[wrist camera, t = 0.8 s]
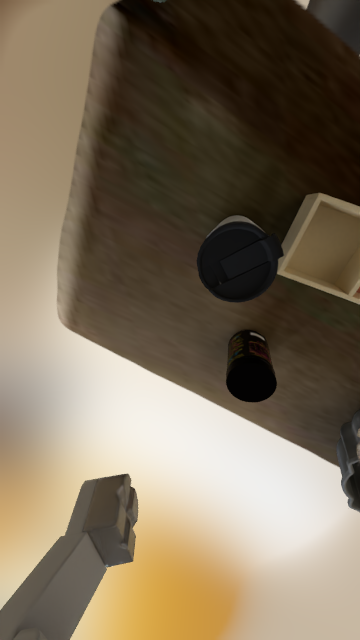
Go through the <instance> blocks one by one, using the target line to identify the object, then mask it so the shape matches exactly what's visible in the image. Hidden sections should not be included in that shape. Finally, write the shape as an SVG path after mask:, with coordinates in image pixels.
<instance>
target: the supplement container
mask: <svg viewBox="0 0 360 640" xmlns="http://www.w3.org/2000/svg"><path fill="white" fill-rule="evenodd" d="M226 385H227V388H228V390H229V392H230V393H231V394H232V395H233V396H234V397H236V398H238V399H240V400H242V401H245V402H260V401H263V400H265V399H267V398H269V397H270V396H271V395H272V394H273V393H274V391H275V389H276V386H277V381H276V377H275V372H274V369H273V365H272V361H271V357H270V352H269V348H268V344H267V341H266V339H265V338H264V337H263V336H262V335H261V334H259V333H258V332H255V331H251V330H244V331H240V332H238V333H236V334H235V335H234V336H233V337H232V338H231V339H230V341H229V344H228V361H227V373H226Z"/></svg>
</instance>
